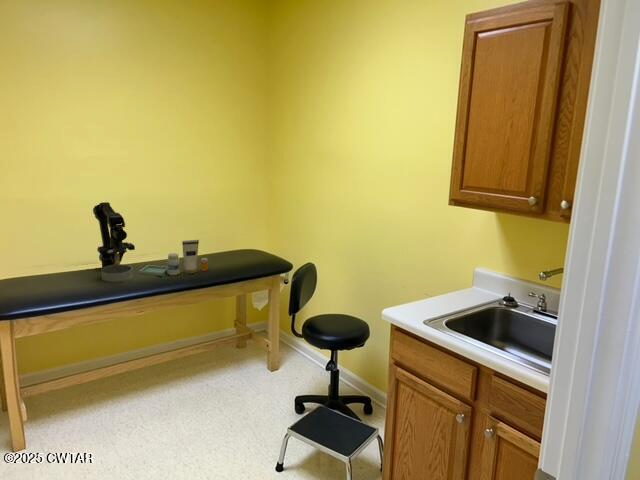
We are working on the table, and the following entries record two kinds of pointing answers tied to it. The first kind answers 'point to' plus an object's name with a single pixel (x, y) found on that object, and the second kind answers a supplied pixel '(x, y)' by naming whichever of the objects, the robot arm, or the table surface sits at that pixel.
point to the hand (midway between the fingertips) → (117, 262)
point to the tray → (154, 270)
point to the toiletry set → (186, 259)
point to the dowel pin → (117, 260)
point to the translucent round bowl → (117, 273)
